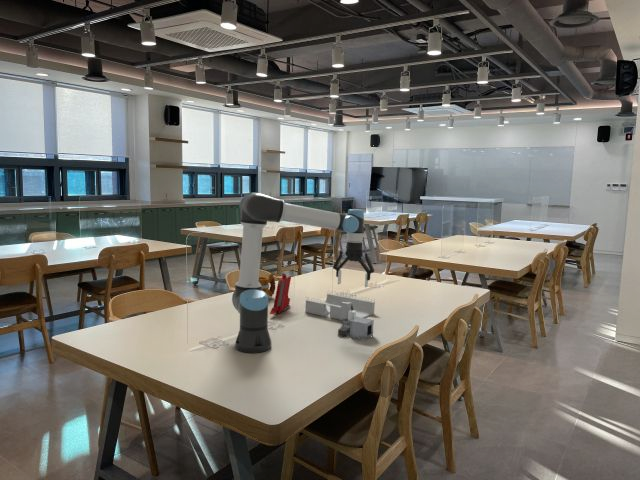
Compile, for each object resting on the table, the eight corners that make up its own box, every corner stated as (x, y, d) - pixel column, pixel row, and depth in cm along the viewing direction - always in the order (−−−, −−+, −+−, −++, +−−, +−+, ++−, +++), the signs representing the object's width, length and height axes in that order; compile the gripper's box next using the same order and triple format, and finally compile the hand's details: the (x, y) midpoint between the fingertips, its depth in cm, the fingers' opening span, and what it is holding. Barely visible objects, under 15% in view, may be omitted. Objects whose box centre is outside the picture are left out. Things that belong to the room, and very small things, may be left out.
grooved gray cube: (365, 340, 212) (349, 336, 216) (372, 336, 219) (357, 332, 223) (366, 323, 211) (350, 320, 216) (373, 320, 218) (358, 317, 222)
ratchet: (351, 337, 216) (351, 320, 215) (332, 334, 219) (333, 317, 218) (362, 325, 234) (363, 310, 233) (345, 323, 237) (346, 307, 236)
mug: (247, 299, 281) (247, 274, 279) (269, 295, 292) (270, 271, 290) (257, 303, 273) (257, 277, 271) (280, 299, 284) (280, 274, 282)
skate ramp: (374, 314, 256) (375, 294, 255) (347, 325, 234) (348, 303, 233) (328, 304, 274) (329, 286, 272) (299, 314, 252) (300, 294, 250)
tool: (278, 314, 242) (286, 267, 250) (268, 313, 243) (276, 266, 251) (289, 322, 265) (296, 279, 272) (279, 321, 266) (287, 278, 274)
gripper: (382, 242, 225) (379, 286, 228) (332, 238, 234) (330, 281, 237) (378, 244, 219) (376, 289, 221) (327, 240, 227) (325, 283, 230)
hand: (352, 285), depth 229 cm, fingers open, 13 cm apart
